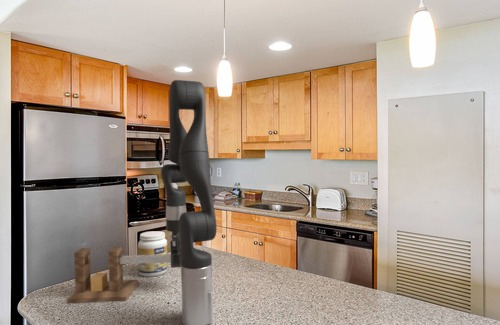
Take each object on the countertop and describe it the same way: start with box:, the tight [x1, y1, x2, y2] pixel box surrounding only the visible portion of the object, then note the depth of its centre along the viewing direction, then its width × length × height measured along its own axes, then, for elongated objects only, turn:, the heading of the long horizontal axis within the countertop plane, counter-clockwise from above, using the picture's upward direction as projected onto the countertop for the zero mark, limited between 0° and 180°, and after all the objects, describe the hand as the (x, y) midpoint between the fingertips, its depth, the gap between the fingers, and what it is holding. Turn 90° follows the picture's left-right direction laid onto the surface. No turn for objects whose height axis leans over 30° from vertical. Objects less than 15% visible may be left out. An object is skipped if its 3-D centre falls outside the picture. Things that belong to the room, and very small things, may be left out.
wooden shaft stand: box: [66, 246, 140, 304], centre depth 123 cm, size 20×16×16 cm
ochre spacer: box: [90, 272, 109, 291], centre depth 124 cm, size 5×5×4 cm
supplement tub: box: [137, 230, 169, 278], centre depth 144 cm, size 12×12×17 cm
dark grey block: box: [119, 245, 181, 268], centre depth 124 cm, size 24×3×8 cm, turn 94°
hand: (177, 262), depth 125 cm, fingers closed on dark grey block, 3 cm apart
